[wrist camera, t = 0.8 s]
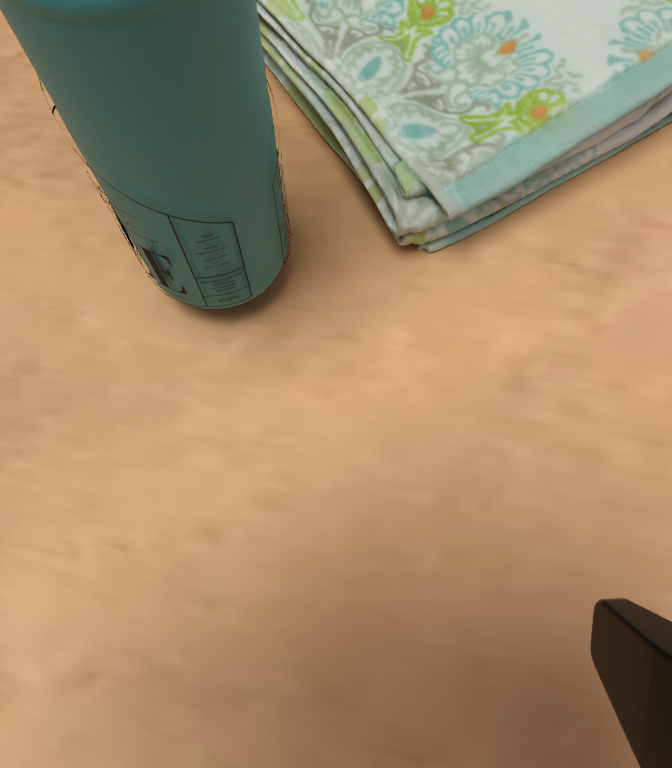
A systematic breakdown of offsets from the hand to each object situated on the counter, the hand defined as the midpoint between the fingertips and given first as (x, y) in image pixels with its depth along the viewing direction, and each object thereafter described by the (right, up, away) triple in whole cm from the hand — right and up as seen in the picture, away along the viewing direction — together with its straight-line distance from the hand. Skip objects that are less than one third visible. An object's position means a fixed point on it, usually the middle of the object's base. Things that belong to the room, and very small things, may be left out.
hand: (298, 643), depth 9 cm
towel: (+8, +21, +24) cm, 33 cm away
